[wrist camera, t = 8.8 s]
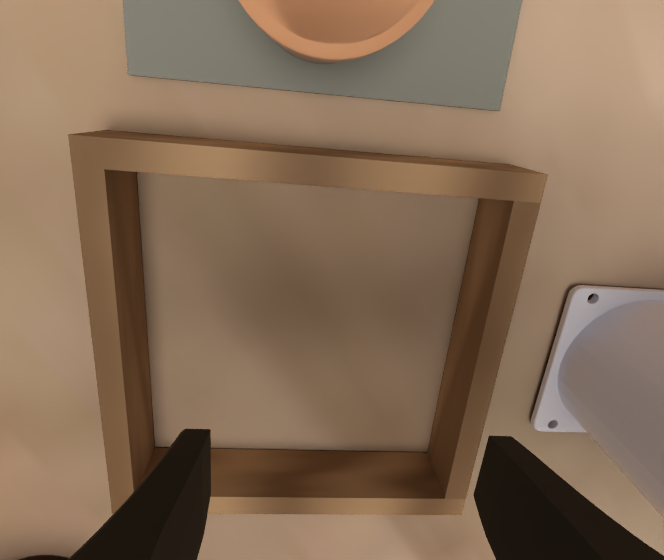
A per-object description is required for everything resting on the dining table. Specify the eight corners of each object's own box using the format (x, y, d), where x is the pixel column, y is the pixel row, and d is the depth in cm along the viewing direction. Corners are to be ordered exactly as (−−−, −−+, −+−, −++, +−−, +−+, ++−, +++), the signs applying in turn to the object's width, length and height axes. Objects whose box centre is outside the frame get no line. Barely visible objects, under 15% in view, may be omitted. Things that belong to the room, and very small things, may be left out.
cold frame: (510, 164, 18) (547, 174, 16) (442, 467, 24) (461, 515, 21) (106, 130, 17) (68, 134, 14) (135, 462, 22) (112, 513, 20)
